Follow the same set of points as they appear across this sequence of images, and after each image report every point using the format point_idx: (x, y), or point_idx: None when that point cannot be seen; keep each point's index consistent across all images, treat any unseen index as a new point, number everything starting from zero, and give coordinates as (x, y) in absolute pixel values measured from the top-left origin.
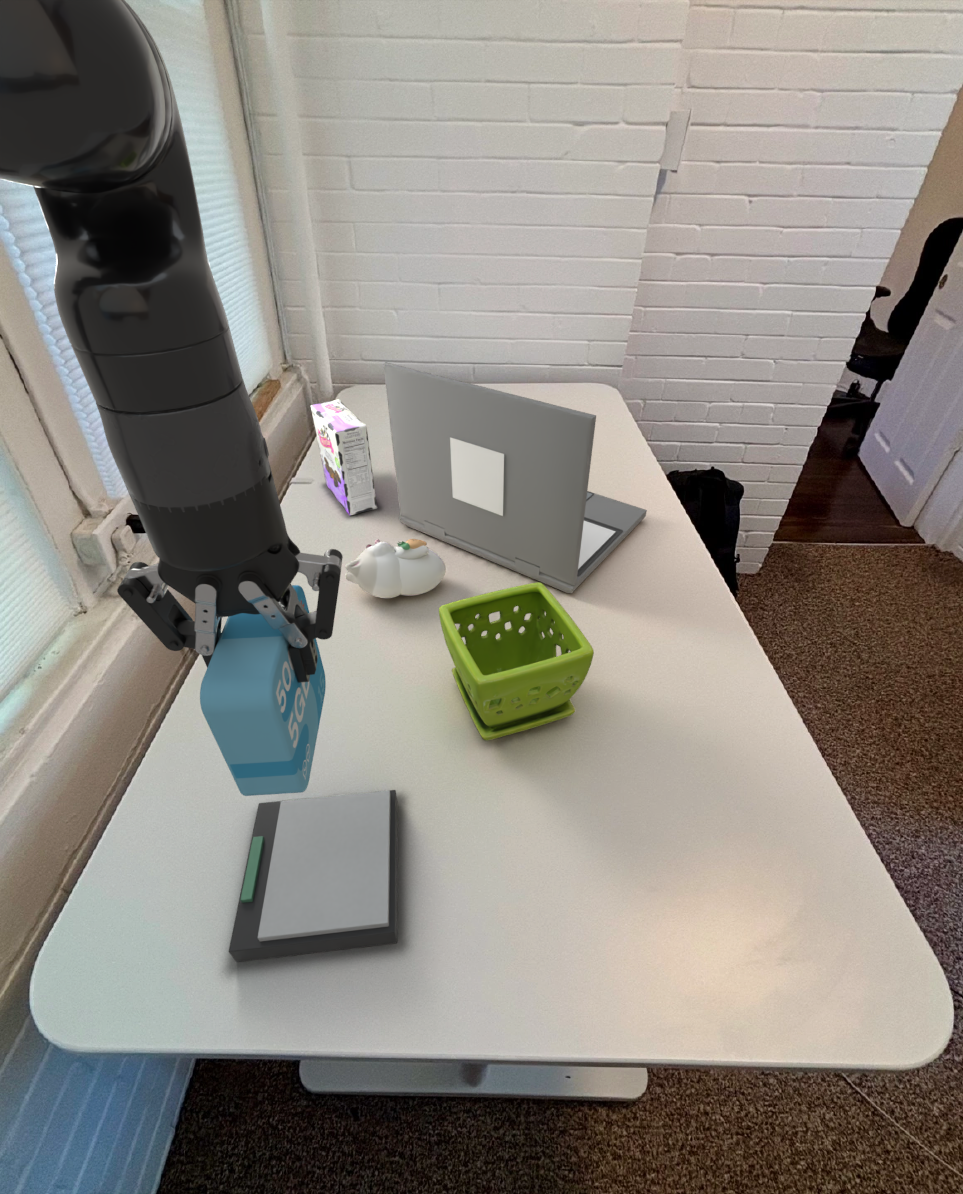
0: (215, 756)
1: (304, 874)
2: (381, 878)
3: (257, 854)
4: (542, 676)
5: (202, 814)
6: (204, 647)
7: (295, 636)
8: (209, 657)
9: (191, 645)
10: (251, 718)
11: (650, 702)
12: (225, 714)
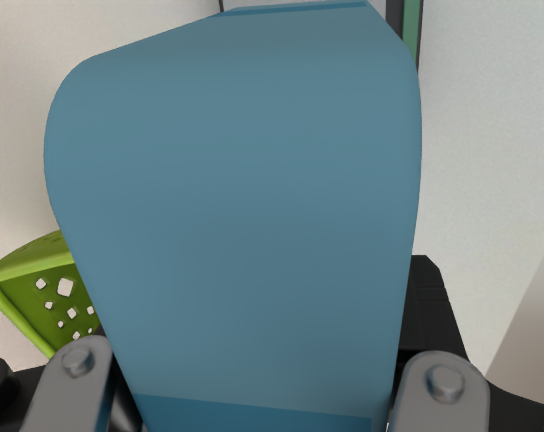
0: (483, 198)
1: None
2: (232, 5)
3: (405, 44)
4: (33, 253)
5: (493, 119)
6: (442, 394)
7: (64, 386)
8: (436, 339)
9: (511, 407)
10: (197, 44)
11: (3, 225)
12: (295, 45)
